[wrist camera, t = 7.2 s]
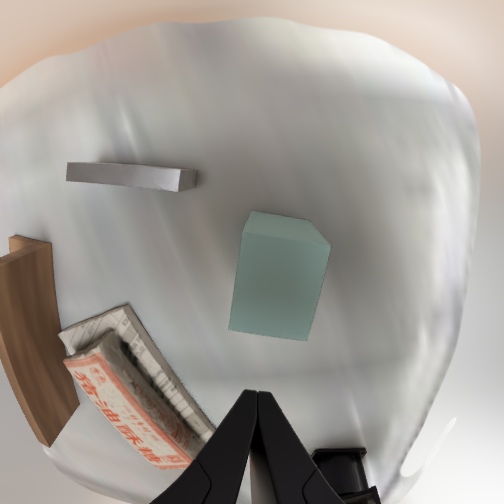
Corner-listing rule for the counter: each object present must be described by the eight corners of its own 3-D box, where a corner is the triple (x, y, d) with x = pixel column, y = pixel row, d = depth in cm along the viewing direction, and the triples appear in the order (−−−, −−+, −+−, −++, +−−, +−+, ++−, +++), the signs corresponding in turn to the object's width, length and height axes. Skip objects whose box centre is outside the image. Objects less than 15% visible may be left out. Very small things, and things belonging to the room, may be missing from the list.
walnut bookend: (51, 243, 21) (-13, 272, 13) (79, 404, 26) (49, 447, 19) (15, 235, 21) (-44, 258, 13) (46, 388, 26) (14, 426, 19)
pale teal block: (309, 220, 19) (331, 246, 13) (295, 288, 21) (306, 341, 14) (251, 210, 19) (242, 231, 13) (240, 279, 21) (228, 329, 14)
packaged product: (222, 471, 22) (145, 474, 23) (227, 436, 26) (156, 445, 28) (103, 327, 18) (36, 352, 19) (131, 298, 22) (63, 327, 24)
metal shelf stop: (197, 170, 19) (180, 170, 15) (195, 187, 19) (177, 191, 15) (98, 162, 19) (67, 162, 15) (97, 177, 19) (66, 180, 15)
